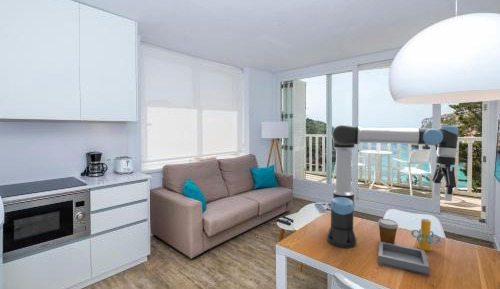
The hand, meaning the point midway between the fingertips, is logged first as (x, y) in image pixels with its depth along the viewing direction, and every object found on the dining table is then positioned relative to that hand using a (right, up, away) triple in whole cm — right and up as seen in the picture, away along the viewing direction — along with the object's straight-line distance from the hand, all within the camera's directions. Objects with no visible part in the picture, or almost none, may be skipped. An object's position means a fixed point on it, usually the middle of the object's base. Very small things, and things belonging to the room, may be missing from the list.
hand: (441, 198), depth 123 cm
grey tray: (-26, -28, -9) cm, 39 cm away
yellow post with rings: (-6, -27, +3) cm, 28 cm away
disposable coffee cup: (-23, -27, +9) cm, 36 cm away
